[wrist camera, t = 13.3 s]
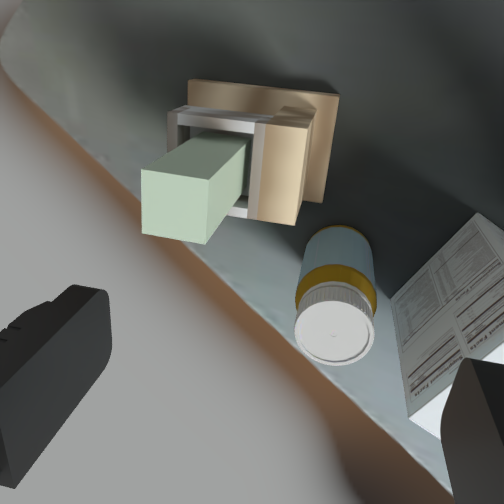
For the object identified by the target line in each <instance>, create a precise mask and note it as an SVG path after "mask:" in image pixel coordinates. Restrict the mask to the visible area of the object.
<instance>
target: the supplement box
mask: <svg viewBox="0 0 504 504" xmlns="http://www.w3.org/2000/svg"><path fill="white" fill-rule="evenodd" d="M390 301H391V307H392V314H393V320H394V326H395V333H396V339H397V346H398V353H399V359H400V366H401V372H402V379H403V385H404V392H405V399H406V406H407V413H408V419H410V420H411V421H413V422H414V423H416V424H417V425H419V426H420V427H422V428H423V429H425V430H426V431H428V432H429V433H431V434H432V435H434V436H435V437H437V438H438V439H440V440H441V436H440V424H441V416H442V412H443V409H444V406H445V403H446V401H447V398H448V395H449V393H450V390H451V387H452V384H453V382H454V379H455V376H456V374H457V371H458V368H459V366H460V363H461V362H462V360H463V359H464V358H466V357H467V358H472V359H478V360H483V361H489V362H494V363H500V364H504V231H503V230H502V229H500V228H499V227H497V226H496V225H495V224H493V223H492V222H491V221H489V220H488V219H486V218H485V217H484V216H482V215H481V214H479V213H476V214H475V215H474V216H473V217H472V218H471V219H470V220H469V221H468V222H467V223H466V224H465V225H464V226H463V227H462V228H461V229H460V230H459V231H458V232H457V233H456V234H455V235H454V236H453V237H452V238H451V239H450V240H449V241H448V242H447V243H446V244H445V245H444V246H443V247H442V248H441V249H440V250H439V251H438V252H437V253H436V254H435V255H434V256H433V257H432V258H431V259H430V260H429V261H428V262H427V263H426V264H425V265H424V266H423V267H422V268H421V269H420V270H419V271H418V272H417V273H416V274H415V275H414V276H413V277H412V278H411V279H410V280H409V281H408V282H407V283H406V284H405V285H404V286H403V287H402V288H401V289H400V290H399V291H398V292H397V293H396V294H395V295H394V296H393V297H392V298H391V299H390Z"/></svg>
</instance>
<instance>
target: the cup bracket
mask: <svg viewBox="0 0 504 504" xmlns="http://www.w3.org/2000/svg"><path fill="white" fill-rule="evenodd" d="M339 97H340V94H332V93H323V92H314V91H304V90H295V89H286V88H277V87H267V86H258V85H249V84H240V83H231V82H221V81H212V80H203V79H191V80H188V105H184V106H182V107H179V108H176V109H174V110H171V111H169V112H167V153H168V152H170V151H172V150H173V149H175V148H177V147H178V146H180V145H182V144H183V143H185V142H186V141H188V140H190V139H191V138H193V137H195V136H196V135H198V134H199V133H201V132H203V131H204V132H211V133H218V134H225V135H232V136H239V137H246V138H251V147H250V157H249V167H248V177H247V187H246V188H245V189H244V191H243V192H242V194H241V195H240V196H239V198H238V199H237V201H236V202H235V203H234V205H233V206H232V208H231V209H230V210H229V212H228V213H227V215H228V216H234V217H241V218H248V219H254V220H261V221H267V222H274V223H280V224H287V225H294V226H295V223H296V219H297V216H298V213H299V209H300V206H301V203H302V200H303V201H310V202H317V203H322V202H323V196H324V190H325V184H326V177H327V171H328V165H329V159H330V153H331V146H332V140H333V134H334V128H335V122H336V115H337V109H338V103H339Z"/></svg>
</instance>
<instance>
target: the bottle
mask: <svg viewBox="0 0 504 504" xmlns="http://www.w3.org/2000/svg"><path fill="white" fill-rule="evenodd" d="M295 303H296V309H297V315H296V320H295V326H294V329H295V330H294V332H295V338H296V341H297V343H298V345H299V347H300V348H301V350H302V351H303V352H304V353H305V354H306V355H307V356H309V357H310V358H311V359H313V360H315V361H317V362H319V363H322V364H326V365H333V366H340V365H347V364H351V363H353V362H356V361H358V360H359V359H361V358H362V357H363V356H364V355H366V353H367V352H368V351H369V349H370V348H371V346H372V343H373V339H374V321H373V317H374V314H375V312H376V308H377V299H376V286H375V277H374V267H373V257H372V251H371V247H370V245H369V242H368V240H367V239H366V238H365V237H364V236H363V234H362V233H360V232H359V231H357V230H355V229H354V228H352V227H348V226H344V225H332V226H328V227H325V228H322V229H320V230H319V231H318V232H316V233H315V234H314V235H313V236H312V237H311V239H310V240H309V241H308V243H307V246H306V249H305V253H304V258H303V262H302V267H301V272H300V276H299V281H298V286H297V290H296V297H295Z"/></svg>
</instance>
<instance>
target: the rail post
mask: <svg viewBox="0 0 504 504" xmlns="http://www.w3.org/2000/svg"><path fill="white" fill-rule="evenodd" d="M250 147H251V138H246V137H239V136H232V135H225V134H218V133H211V132H204V131H203V132H201V133H199V134H198V135H196V136H195V137H193V138H191V139H190V140H188V141H186V142H185V143H183V144H182V145H180V146H178V147H177V148H175V149H173V150H172V151H170V152H168V153H167V154H165V155H164V156H162V157H160V158H159V159H157V160H155V161H154V162H152V163H151V164H149V165H147V166H146V167H144V168H142V169H141V192H142V233H144V234H150V235H155V236H161V237H166V238H172V239H177V240H183V241H189V242H194V243H200V244H206V243H207V241H208V240H209V238H210V237H211V236H212V234H213V233H214V231H215V230H216V229H217V227H218V226H219V224H220V223H221V222H222V220H223V219H224V217H225V216H226V215H227V213H228V212H229V210H230V209H231V208H232V206H233V205H234V203H235V202H236V201H237V199H238V198H239V196H240V195H241V194H242V192H243V191H244V189H245V188H246V187H247V177H248V167H249V157H250Z"/></svg>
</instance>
